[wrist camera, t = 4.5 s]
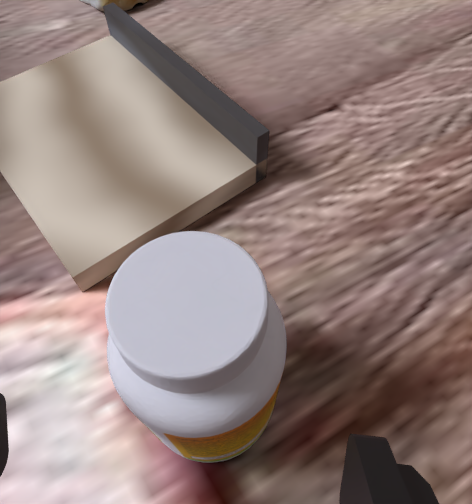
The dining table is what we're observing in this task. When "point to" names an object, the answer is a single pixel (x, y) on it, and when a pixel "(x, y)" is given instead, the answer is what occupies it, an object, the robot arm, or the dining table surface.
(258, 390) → the supplement bottle
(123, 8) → the pastry
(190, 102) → the shelf board
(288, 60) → the dining table surface
